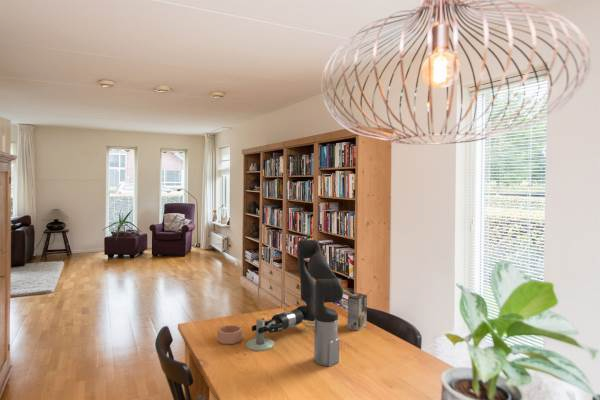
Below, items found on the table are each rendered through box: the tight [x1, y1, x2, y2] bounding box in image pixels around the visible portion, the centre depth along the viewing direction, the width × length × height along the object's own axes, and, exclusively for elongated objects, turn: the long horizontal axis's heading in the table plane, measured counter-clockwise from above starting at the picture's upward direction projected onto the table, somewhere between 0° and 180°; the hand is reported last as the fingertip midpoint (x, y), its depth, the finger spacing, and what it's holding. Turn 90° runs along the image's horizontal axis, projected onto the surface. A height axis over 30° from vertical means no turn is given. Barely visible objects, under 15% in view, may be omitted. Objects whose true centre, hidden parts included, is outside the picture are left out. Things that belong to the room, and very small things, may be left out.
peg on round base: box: [245, 318, 275, 352], centre depth 175 cm, size 12×12×11 cm
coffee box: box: [347, 292, 368, 331], centre depth 200 cm, size 9×6×16 cm
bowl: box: [217, 324, 243, 345], centre depth 180 cm, size 10×10×5 cm
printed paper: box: [276, 312, 315, 331], centre depth 203 cm, size 30×30×2 cm
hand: (255, 329), depth 173 cm, fingers closed on peg on round base, 3 cm apart
